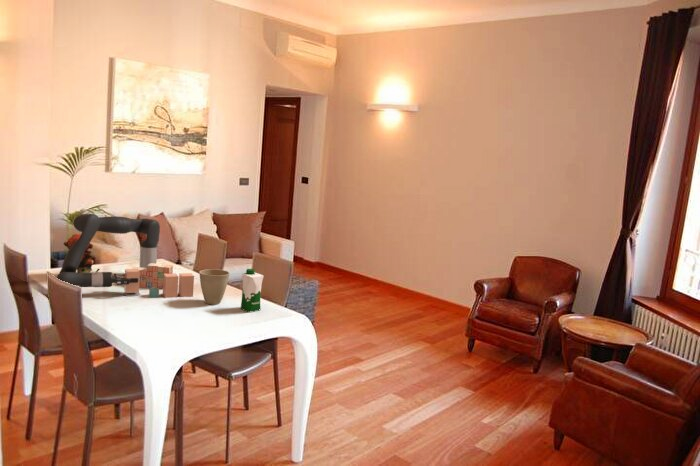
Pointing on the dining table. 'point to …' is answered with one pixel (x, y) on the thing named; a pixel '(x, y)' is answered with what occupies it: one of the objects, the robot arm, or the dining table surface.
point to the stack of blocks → (153, 275)
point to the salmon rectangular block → (170, 285)
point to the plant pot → (213, 284)
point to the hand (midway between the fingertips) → (136, 278)
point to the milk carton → (251, 290)
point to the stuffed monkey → (85, 261)
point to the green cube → (153, 292)
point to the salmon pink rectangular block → (132, 286)
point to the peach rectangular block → (186, 284)
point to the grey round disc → (131, 294)
